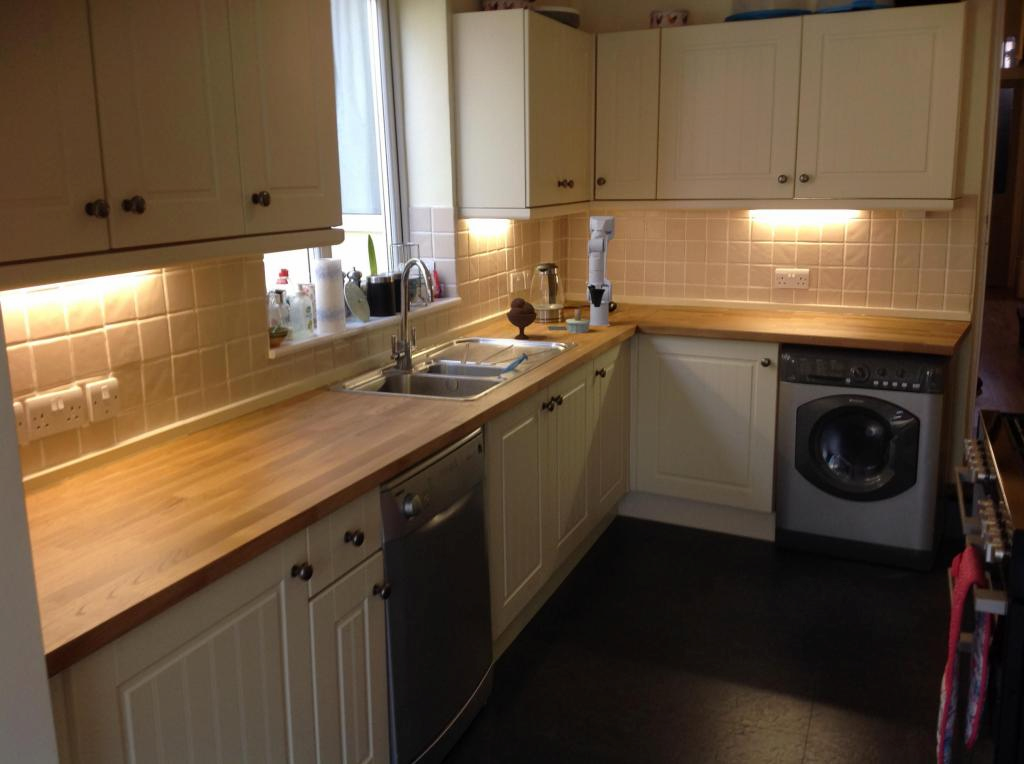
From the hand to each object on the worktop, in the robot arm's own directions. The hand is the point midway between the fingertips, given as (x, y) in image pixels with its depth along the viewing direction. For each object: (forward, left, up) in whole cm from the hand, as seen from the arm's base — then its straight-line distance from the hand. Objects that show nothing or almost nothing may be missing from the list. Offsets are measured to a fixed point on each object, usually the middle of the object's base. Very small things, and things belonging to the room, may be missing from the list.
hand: (596, 305), depth 370 cm
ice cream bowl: (+15, -29, -10) cm, 34 cm away
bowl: (+3, -7, -10) cm, 12 cm away
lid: (+3, -7, -6) cm, 10 cm away
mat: (-5, -15, -10) cm, 18 cm away
